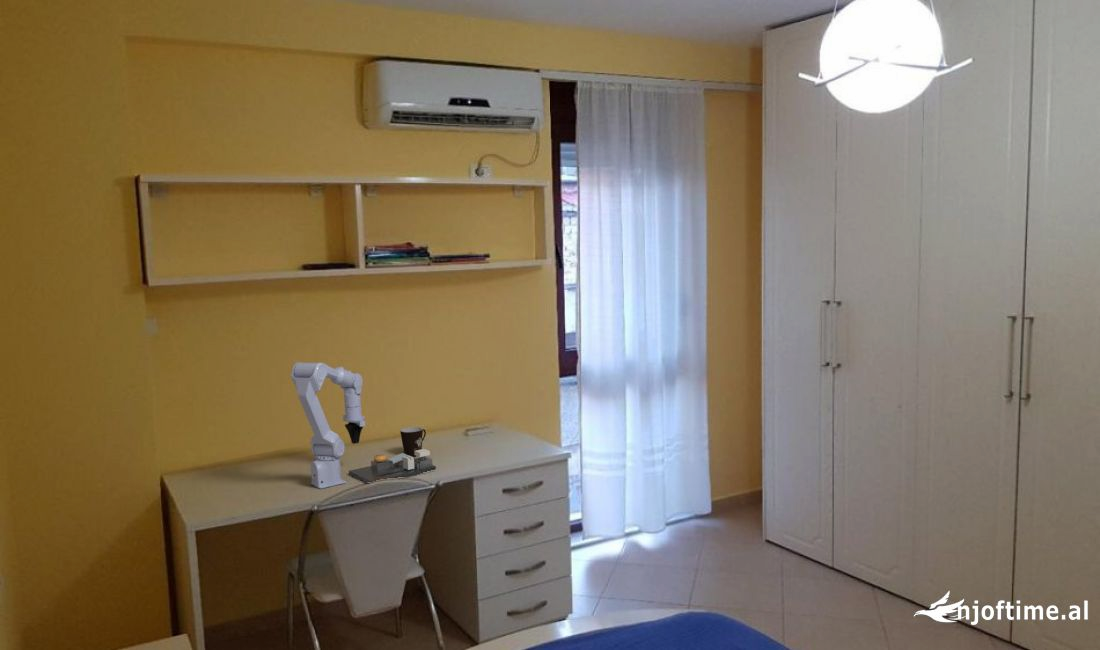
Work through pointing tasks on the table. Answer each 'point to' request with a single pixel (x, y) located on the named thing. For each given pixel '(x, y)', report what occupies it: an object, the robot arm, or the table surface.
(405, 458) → the slider knob
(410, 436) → the coffee mug
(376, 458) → the round button
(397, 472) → the panel
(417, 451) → the square button
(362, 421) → the robot arm
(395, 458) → the rocker
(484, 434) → the table surface
